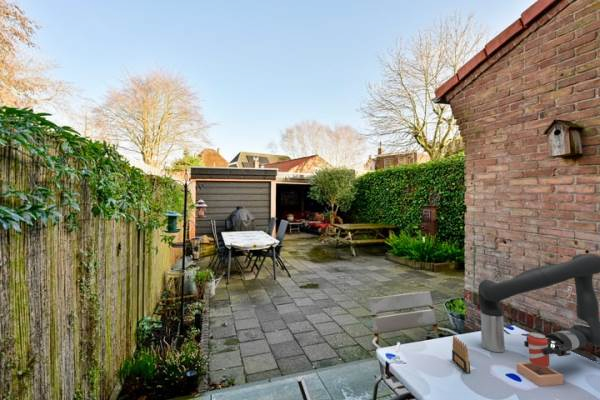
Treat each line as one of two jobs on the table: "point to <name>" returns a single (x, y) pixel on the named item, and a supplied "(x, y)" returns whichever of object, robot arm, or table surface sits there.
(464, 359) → the ammunition clip
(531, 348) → the beverage can
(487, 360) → the table surface
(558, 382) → the terracotta collar
